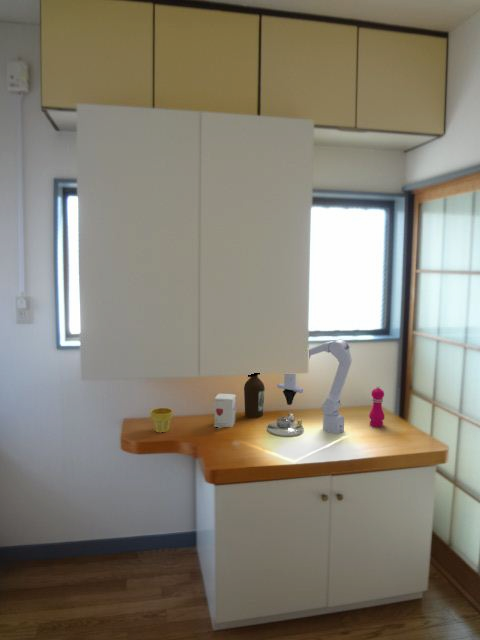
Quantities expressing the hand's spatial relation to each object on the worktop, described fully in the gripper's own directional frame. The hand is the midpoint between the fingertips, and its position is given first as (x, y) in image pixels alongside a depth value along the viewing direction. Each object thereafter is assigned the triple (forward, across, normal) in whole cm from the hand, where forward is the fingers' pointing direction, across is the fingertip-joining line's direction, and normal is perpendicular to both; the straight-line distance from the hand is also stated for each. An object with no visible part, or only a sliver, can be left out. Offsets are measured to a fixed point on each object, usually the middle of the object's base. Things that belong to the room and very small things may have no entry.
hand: (289, 404), depth 229 cm
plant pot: (+10, +36, +50) cm, 63 cm away
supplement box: (+10, +20, +24) cm, 34 cm away
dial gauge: (+10, 0, 0) cm, 10 cm away
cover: (+8, -4, +9) cm, 12 cm away
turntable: (+9, -6, +10) cm, 15 cm away
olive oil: (+10, +20, +4) cm, 22 cm away
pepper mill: (+10, -32, -30) cm, 44 cm away
